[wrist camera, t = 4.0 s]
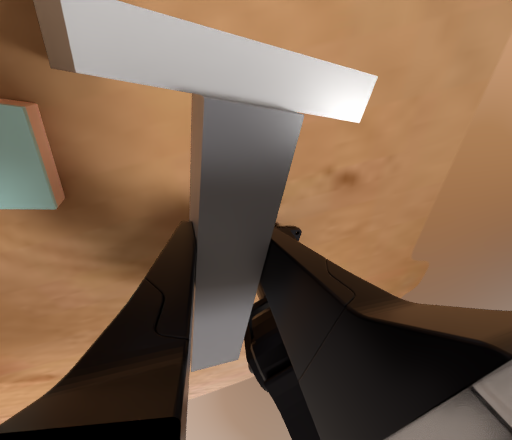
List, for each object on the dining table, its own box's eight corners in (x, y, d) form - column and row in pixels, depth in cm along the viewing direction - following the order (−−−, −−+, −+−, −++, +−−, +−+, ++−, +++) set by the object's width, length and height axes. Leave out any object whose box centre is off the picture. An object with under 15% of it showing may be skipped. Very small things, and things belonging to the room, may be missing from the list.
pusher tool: (259, 304, 15) (276, 349, 12) (144, 325, 12) (138, 385, 10) (328, 74, 8) (395, 77, 6) (96, 11, 5) (39, -30, 3)
